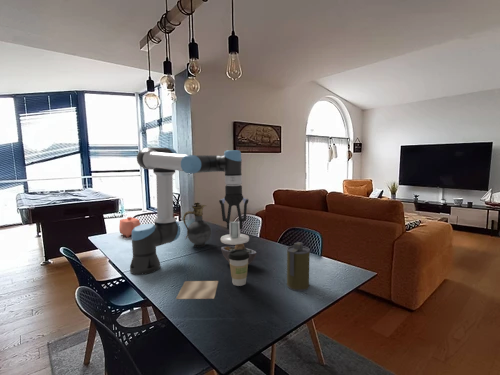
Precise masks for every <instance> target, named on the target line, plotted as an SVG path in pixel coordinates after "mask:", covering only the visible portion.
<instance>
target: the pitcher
mask: <svg viewBox="0 0 500 375" xmlns="http://www.w3.org/2000/svg"><path fill="white" fill-rule="evenodd" d="M204 207H207V205H205V204H201V202H197V201H196V202H195V203H193V205H191V208H192V209H193V211H186V212H184V214H183V217H182V218H183V219H182V221H183V223H184V226H185V228H186V230H187V231H186V236H185V239H187V238H188V240H189V242H191V243H192V244H193V247H194V248H203V247H205V246H206V243H207V242H209V240H210V238H211V236H212V228H211V226H210V224H208V222H206V221H204V220H203V218H204V217H203V215H204V213H203V210H204ZM189 214H191V215H194V220H195V221H192V222H191V223H190V224H189V225H187V222H186V217H187V215H189Z"/></svg>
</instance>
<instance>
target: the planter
mask: <svg viewBox="0 0 500 375" xmlns="http://www.w3.org/2000/svg"><path fill="white" fill-rule="evenodd" d="M238 249H241V250H246V251H247V252H248V254H249V258H248V265H249V264H251V263H252V262H253V261H254V260H255V258H256V256H257V251H256V250H253V249H251V248H247V247H245V243H243V244H237V245H235V246H221V247H220V250H221V253H222V255H223V257H224V259H225V260H226V261H227V262H228V263H229V264H230V260H229V258H228V256H229V254H230V252H231V251H233V250H238Z"/></svg>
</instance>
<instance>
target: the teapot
mask: <svg viewBox="0 0 500 375" xmlns="http://www.w3.org/2000/svg"><path fill="white" fill-rule="evenodd" d="M139 225H141V222H140V220H139V219H138V218H136V217H133V216H128V217H127V218H123V219H120V220H119V234H121V235H122V236H123V237H125V238H130V237H131V236H132V230H133V229H134V228H135V227H137V226H139Z"/></svg>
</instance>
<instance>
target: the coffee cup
mask: <svg viewBox="0 0 500 375" xmlns="http://www.w3.org/2000/svg"><path fill="white" fill-rule="evenodd" d="M228 258H229V260H230V263H229V269H230V276H231V281H232V284H233V286H237V287H239V286H240V287H241V286H244V285H246V284H247V277H248V270H249V268H248V267H249V264H248V258H249V254H248V252H247V251H246V250H241V249H238V250H233V251H231V252H230V254H229V256H228Z"/></svg>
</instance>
